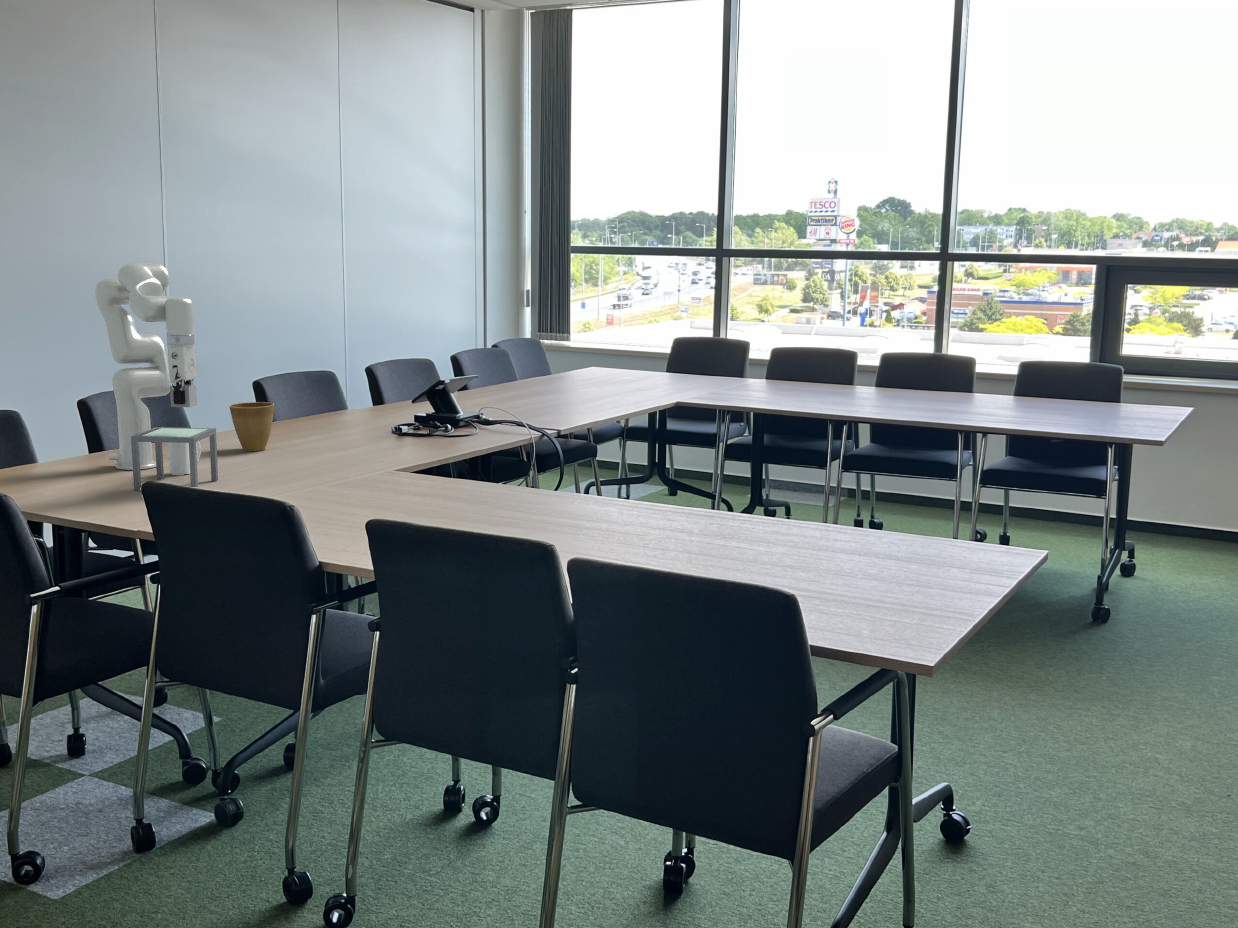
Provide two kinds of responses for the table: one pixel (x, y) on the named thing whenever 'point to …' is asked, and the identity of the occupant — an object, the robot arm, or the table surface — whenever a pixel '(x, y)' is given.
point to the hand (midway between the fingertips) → (183, 402)
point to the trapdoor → (175, 432)
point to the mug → (180, 457)
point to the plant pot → (252, 424)
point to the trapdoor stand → (159, 439)
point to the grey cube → (186, 396)
